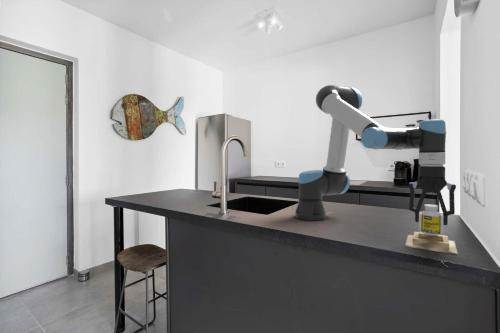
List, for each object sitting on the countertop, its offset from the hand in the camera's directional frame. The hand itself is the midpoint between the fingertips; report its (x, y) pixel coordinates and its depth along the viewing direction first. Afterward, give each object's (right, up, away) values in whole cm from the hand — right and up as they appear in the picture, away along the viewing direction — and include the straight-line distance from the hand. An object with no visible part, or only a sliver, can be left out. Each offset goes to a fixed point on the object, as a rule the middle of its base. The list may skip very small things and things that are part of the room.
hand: (430, 232), depth 92 cm
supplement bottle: (0, -1, 0) cm, 1 cm away
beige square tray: (0, -4, 0) cm, 4 cm away
